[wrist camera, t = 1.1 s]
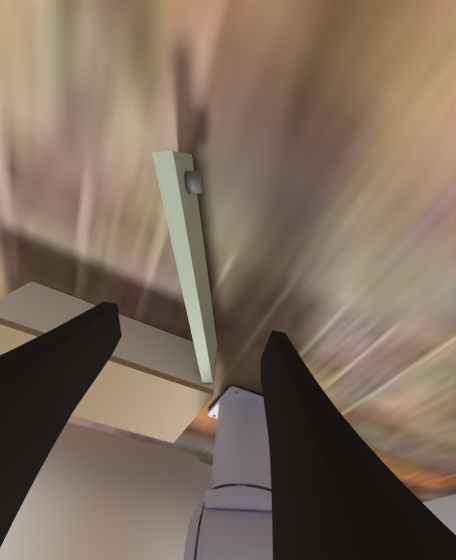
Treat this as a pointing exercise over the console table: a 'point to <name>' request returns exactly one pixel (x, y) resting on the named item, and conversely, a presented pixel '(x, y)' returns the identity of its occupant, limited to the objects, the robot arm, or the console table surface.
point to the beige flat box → (118, 365)
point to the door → (189, 250)
